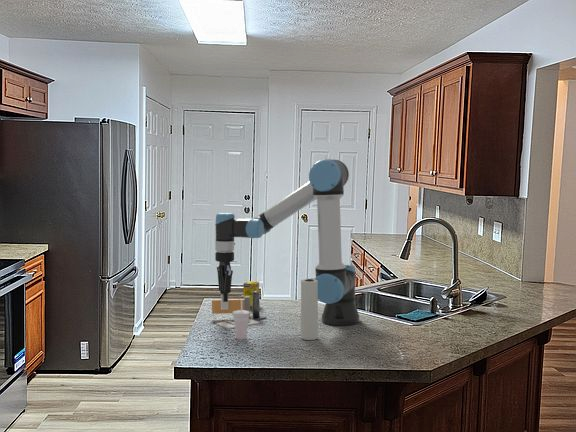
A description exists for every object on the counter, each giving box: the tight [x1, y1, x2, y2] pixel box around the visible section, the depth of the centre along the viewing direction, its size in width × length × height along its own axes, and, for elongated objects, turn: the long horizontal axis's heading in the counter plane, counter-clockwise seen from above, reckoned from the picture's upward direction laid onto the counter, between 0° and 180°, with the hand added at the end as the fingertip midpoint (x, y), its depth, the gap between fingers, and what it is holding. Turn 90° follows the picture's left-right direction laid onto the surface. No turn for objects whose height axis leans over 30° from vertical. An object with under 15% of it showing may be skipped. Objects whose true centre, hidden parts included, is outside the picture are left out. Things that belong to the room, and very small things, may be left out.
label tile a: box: [248, 319, 261, 327], centre depth 263 cm, size 9×6×1 cm, turn 37°
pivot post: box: [249, 290, 267, 321], centre depth 270 cm, size 6×6×11 cm
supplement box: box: [242, 280, 260, 309], centre depth 293 cm, size 6×6×11 cm
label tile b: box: [216, 320, 235, 330], centre depth 258 cm, size 9×6×1 cm, turn 37°
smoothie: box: [231, 300, 251, 340], centre depth 238 cm, size 6×6×14 cm
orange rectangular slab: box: [211, 295, 251, 317], centre depth 269 cm, size 16×2×8 cm, turn 95°
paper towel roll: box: [300, 278, 319, 341], centre depth 238 cm, size 7×6×21 cm
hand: (224, 309), depth 266 cm, fingers closed
